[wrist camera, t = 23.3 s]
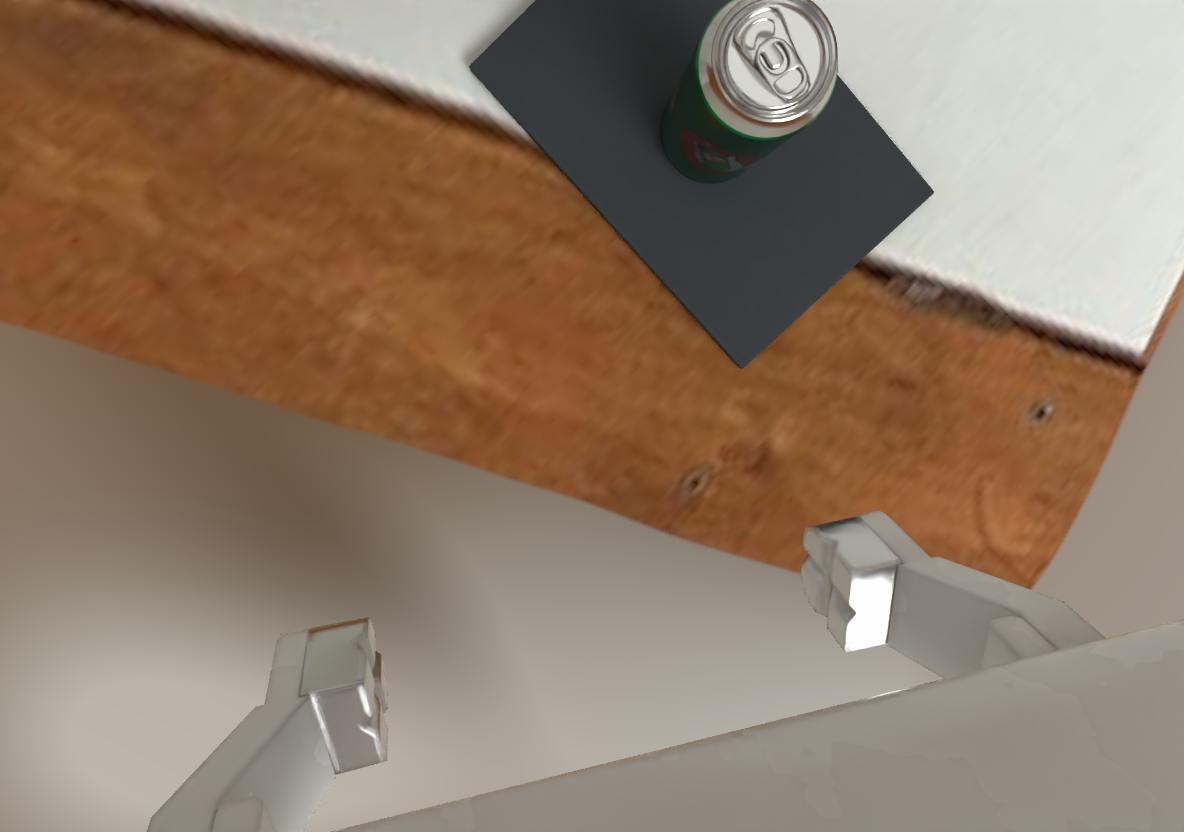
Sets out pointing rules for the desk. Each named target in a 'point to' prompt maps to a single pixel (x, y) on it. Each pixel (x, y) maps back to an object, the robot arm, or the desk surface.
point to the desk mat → (680, 205)
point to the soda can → (749, 87)
